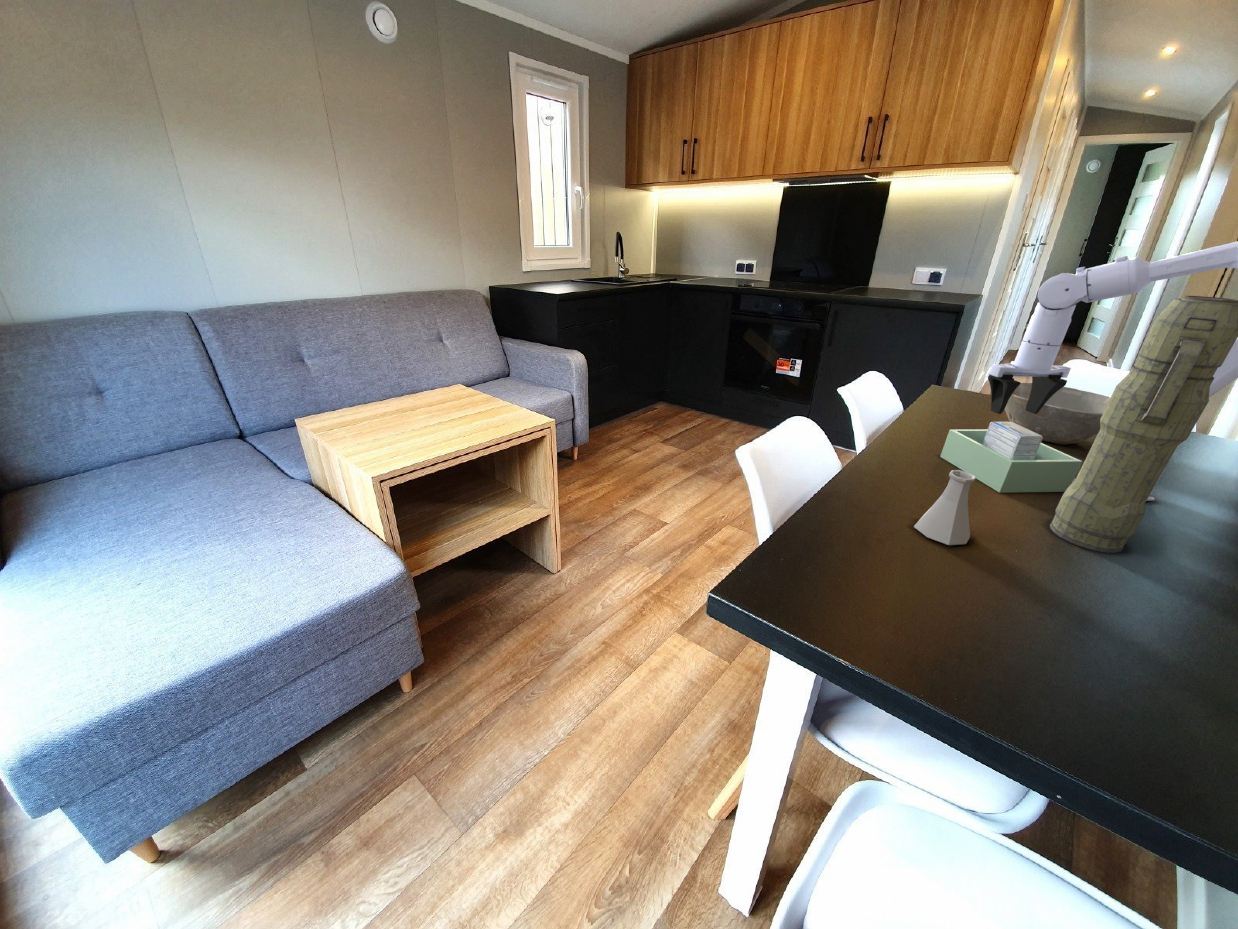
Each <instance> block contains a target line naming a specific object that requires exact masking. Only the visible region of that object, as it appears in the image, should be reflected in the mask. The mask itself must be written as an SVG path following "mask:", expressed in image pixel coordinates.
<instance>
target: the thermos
mask: <svg viewBox="0 0 1238 929" xmlns="http://www.w3.org/2000/svg"><path fill="white" fill-rule="evenodd" d="M1237 338H1238V299H1237V298H1227V297H1215V296H1204V295H1203V296H1201V295H1183V297H1182V298H1174V299H1173V300H1172V301H1171V302H1170V303H1169V304H1168V305H1167V306H1166V307H1165V308H1164V309H1163V310H1162V311H1161V312H1160V314H1158V316H1157V317H1156V318H1155V319H1154V321H1153V324H1152V325H1151V327H1150V329H1149V330H1148V333H1147V335H1146V337H1145V340H1144V342H1143V344H1142V346H1141V348H1140V350H1139V351H1138V354H1137V356H1138V358H1137V360H1136V362H1135V364H1134V365H1132V366H1131V368H1130V370H1129V372H1128V373H1127V375H1126V376H1125V377H1124V378H1122V380H1121V381H1119V383H1118V384H1116V386H1115V388H1114V390H1113V392H1112V394H1111V395H1110V400H1109V402H1108V404H1107V406H1106V408H1105V410H1104V412H1103V415H1102V417H1101V419H1100V426H1101V428H1100V431H1099V433H1098V434H1096V437H1095V438H1094V440H1093V443H1092V445H1091V447H1090V449H1089V451H1088V453H1087V455H1086V457H1085V459H1084V461H1083V462H1082V464H1081V466H1080V468H1079V470H1078V473H1077V476H1076V477H1075V479H1076V480H1075V481H1074V482H1073V483H1072V484H1071V485H1070V486H1069V487H1068V488H1067V490H1066V491H1065V492H1063V494H1062V496H1061V498H1060V500H1059V502H1058V503H1057V506H1056V508H1055V510H1054V511H1055V515H1054V517H1053V518H1052V520H1051V522H1050V523H1049V528H1050V530H1051V531H1052V532H1053V534H1055V535H1057V536H1058V537H1059V538H1061V539H1063V540H1064V541H1067V542H1069V543H1071V544H1073V545H1076V546H1078V547H1081V548H1084V549H1087V550H1091V551H1096V552H1101V553H1105V554H1106V553H1111V554H1112V553H1113V554H1115V553H1120V552H1122V551H1123V549H1124V548H1125V546H1126V543H1127V541H1128V540H1129V538H1131V537H1133V535H1134V533H1135V532H1136V530H1137V529H1138V527H1139V525H1140V523H1141V521H1142V520H1143V518H1144V516H1145V512H1146V511H1145V509H1146V508H1145V506H1146V502H1147V501H1146V500H1147V499H1148V497H1149V495H1150V493H1151V492H1152V493H1153V491H1154V490H1153V488H1154V486H1155V485H1156V486H1157V484H1158V482H1159V481H1158V479H1159V477H1160V476H1161V477H1162V475H1163V474H1162V472H1163V470H1164V469H1165V470H1166V468H1167V465H1168V464H1169V462H1170V460H1171V458H1172V456H1173V455H1174V453H1175V451H1176V450H1177V448H1178V446H1179V445H1181V444H1182V443H1184V442H1185V441H1186V440H1187V439H1188V438H1189V436H1190V435H1191V433H1192V431H1193V430H1194V428H1195V426H1196V424H1197V423H1198V421H1199V420H1200V418H1201V416H1202V414H1203V412H1204V411H1205V409H1206V407H1207V406H1208V404H1209V402H1210V397H1209V392H1210V385H1211V383H1212V382H1213V380H1214V377H1213V375H1214V374H1215V372H1216V370H1217V368H1218V367H1221V366H1222V364H1223V362H1224V360H1225V359H1226V357H1227V355H1228V353H1229V352H1230V350H1231V348H1232V346H1233V345H1234V343H1235V341H1236V339H1237ZM1165 467H1166V468H1165ZM1165 470H1164V471H1165ZM1163 473H1164V472H1163ZM1161 474H1162V475H1161ZM1161 477H1160V478H1161ZM1159 480H1160V479H1159ZM1157 481H1158V482H1157ZM1156 483H1157V484H1156ZM1156 486H1155V487H1156ZM1154 489H1155V488H1154ZM1152 490H1153V491H1152ZM1152 493H1151V494H1152ZM1150 496H1151V495H1150Z"/></svg>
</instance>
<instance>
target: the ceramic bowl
mask: <svg viewBox="0 0 1238 929" xmlns="http://www.w3.org/2000/svg"><path fill="white" fill-rule="evenodd" d="M1031 388H1032V382H1021V384H1020V385H1019V386H1018V387H1017V388H1016V389H1015V391H1014V392H1013V394H1012V395H1011V397H1010V398H1009V401H1008V403H1007V405H1006V407H1005V409H1004V411H1005V415H1006V416H1007V419H1008V422H1013V423H1015V424H1018V425H1020V426H1022V427H1024V428H1026V429H1029V430H1031V431H1033V432H1035V433H1037V434H1039V435H1041V436H1042V437H1043V438H1042V441H1043V442H1046V443H1051V444H1056V445H1071V444H1072V445H1073V444H1077V443H1081V442H1084V441H1086V440H1088V439H1091V438H1092V437H1093V436H1097V435H1098V433H1099V431H1100V428H1101V426H1100V419H1101V417H1102V415H1103V412H1104V410H1105V408H1106V406H1107V404H1108V402H1109V400H1110V398H1111V396H1107V395H1103V394H1099V393H1095V392H1091V391H1087V390H1081V389H1077V388H1073V387H1072V388H1071V387H1067V386H1064V387H1062V388H1061V389H1060V390H1058V391H1057V392H1056V393H1055V394H1054V395H1053V396H1052V397H1051V398H1050V399H1049V400H1048V401H1047V402H1046V403H1045V404H1044V406H1043V407H1042V408H1041V409H1040V411H1039V412H1038V413H1037V414H1033V413H1031V412H1028V411H1026V405H1027V402H1028V399H1029V396H1030V393H1031ZM1042 441H1041V442H1042Z"/></svg>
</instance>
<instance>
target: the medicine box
mask: <svg viewBox="0 0 1238 929" xmlns="http://www.w3.org/2000/svg"><path fill="white" fill-rule="evenodd" d="M987 429H988V431H987V433H986V436H985V439H984V441H983V444H982V445H984V446H986V447H988V448H990V449H992V450H994V451H996V452H998V453H999V454H1001V455H1003V456H1005V457H1007V458H1009V459H1011V460H1034V458H1035V455H1036V453H1037V451H1038V448H1039V446H1040V443H1042V438H1043V437H1042V436H1041V435H1039V434H1037V433H1035V432H1033V431H1031V430H1029V429H1026V428H1024V427H1022V426H1020V425H1018V424H1015V423H1013V422H1010V421H991V422H989V425H988V427H987Z"/></svg>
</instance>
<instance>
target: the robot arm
mask: <svg viewBox="0 0 1238 929" xmlns="http://www.w3.org/2000/svg"><path fill="white" fill-rule="evenodd" d="M1114 260H1115V261H1114V262H1113V261H1112V262H1109V263H1105V264H1101V265H1096V266H1092V267H1088V268H1086V266H1081V267H1077V268H1076V269H1075V274H1074V273H1069V272H1061V273H1059V274H1056V275H1054V276H1051V277H1050V278H1048V279H1046V280H1045V281H1043V283H1042V284H1041V286H1040V287H1039V289H1038V291H1037V300H1038V302H1037V304H1036V306H1035V307H1034V312H1033V313H1032V315H1031V317H1030V318H1029V322H1028V325H1027V327H1026V330H1025V332H1024V335H1023V337H1022V341H1021V343H1020V345H1019V348H1018V350H1017V353H1016V356H1015V358H1014V360H1012V361H1010V362H1009V363H1001V364H992V366H991V369H990V371H989V373H988V376H987V380H988V383H989V388H990V398H991V399H990V412H993V413H995V414H998V415H1002V414H1003V413H1004V411H1005V407H1006V405H1007V403H1008V401H1009V398H1010V397H1011V395H1012V394H1013V392H1014V391H1015V389H1016V388H1017V387H1018V386H1019V385H1020V384H1021V383H1022V382H1021V381H1018V380H1015V378H1014V377H1031V383H1032V388H1031V393H1030V396H1029V399H1028V402H1027V405H1026V411H1028V412H1031V413H1033V414H1037V413H1038V412H1039V411H1040V409H1041V408H1042V407H1043V406H1044V404H1045V403H1046V402H1047V401H1048V400H1049V399H1050V398H1051V397H1052V396H1053V395H1054V394H1055V393H1056V392H1057V391H1058V390H1060V389H1061V388H1062V387H1066V385H1067V383H1068V380H1067V378H1068V376H1069V374H1070V372H1071V369H1072V367H1069V366H1066V365H1061V364H1059V365H1058V364H1054V363H1055V360H1056V358H1057V356H1058V353H1059V351H1060V349H1061V346H1062V344H1063V341H1064V339H1065V336H1066V334H1067V332H1068V330H1069V326H1070V325H1071V323H1072V316H1073V315H1074V311H1075V309H1076V306H1077V304H1078V303H1080V302H1084V303H1087V304H1088V303H1093V302H1098V301H1103V300H1109V299H1114V298H1119V297H1124V296H1129V295H1134V294H1139V293H1140V292H1142V291H1143V290H1144V289H1145V288H1146V287H1147V286H1148V285H1149V284H1150V283H1151V282H1156V281H1163V280H1167V279H1168V280H1169V279H1173V278H1179V277H1185V276H1189V275H1195V274H1200V273H1204V272H1210V271H1216V270H1222V269H1229V268H1230V269H1237V270H1238V240H1237V241H1233V242H1229V243H1225V244H1221V245H1217V246H1212V247H1207V248H1205V249H1200V250H1197V251H1193V252H1189V253H1184V254H1179V255H1176V256H1175V255H1174V256H1171V257H1168V258H1163V259H1159V260H1156V261H1151V262H1150V261H1148V260H1145V259H1143V258H1141V257H1139V256H1135V257H1131V258H1129V257H1128V255H1124V256H1123V255H1122V256H1119V257H1116V258H1115V259H1114ZM1213 377H1214V380H1213V382H1212V383H1211V385H1210V392H1209V398H1211V397H1212V396H1214V395H1215V394H1217V393H1219V391H1221V390H1223V389H1225V387H1227V386H1228V385H1230V384H1231V383H1233V382H1234V381H1235V380H1237V379H1238V338H1237V339H1236V341H1235V343H1234V345H1233V346H1232V348H1231V350H1230V352H1229V353H1228V355H1227V357H1226V359H1225V360H1224V362H1223V364H1222V366H1221V367H1218V368H1217V370H1216V372H1215V374H1214V375H1213ZM1166 468H1167V466H1166V467H1165V469H1164V470H1163V472H1162V474H1161V476H1160V477H1159V479H1158V481H1157V483H1156V485H1155V486H1154V488H1153V490H1152V492H1151V493H1150V495H1149V497H1148V499H1147V500H1146V502H1153V501H1155V497H1153V496H1151V495H1152V493H1153V491H1154V489H1155V488H1156V486H1157V484H1158V483H1159V481H1160V479H1161V478H1162V476H1163V474H1164V472H1165V470H1166ZM1075 480H1076V478H1074V480H1073V482H1074V481H1075ZM1073 482H1072V483H1073Z"/></svg>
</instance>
